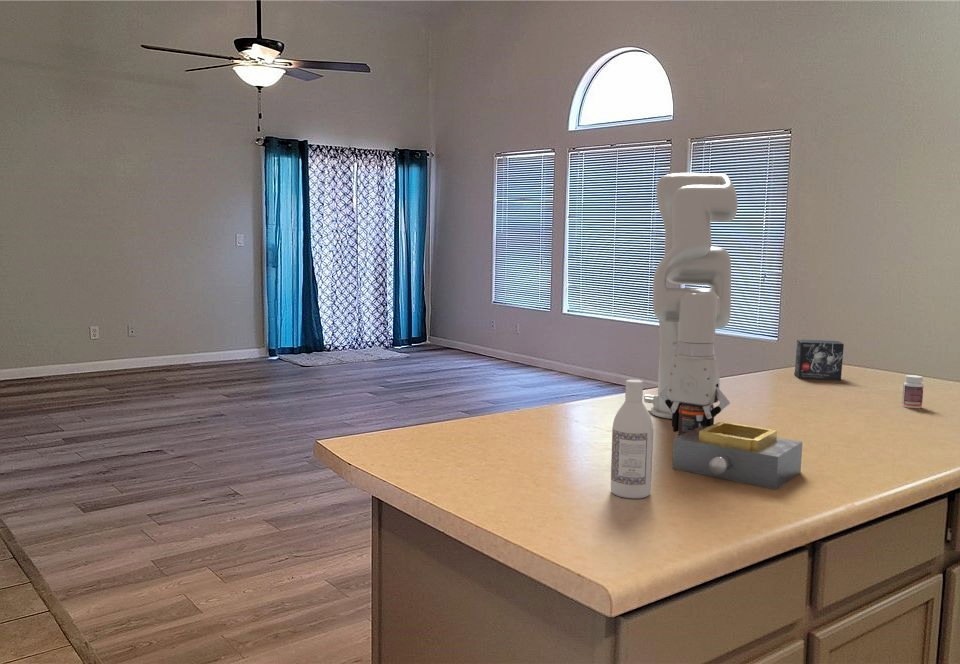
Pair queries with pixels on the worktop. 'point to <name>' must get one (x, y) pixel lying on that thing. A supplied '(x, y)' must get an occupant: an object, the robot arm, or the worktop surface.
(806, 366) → the small box
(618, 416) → the bath foam
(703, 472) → the grey boxy piece
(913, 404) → the pill bottle
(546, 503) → the worktop surface
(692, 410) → the supplement bottle
